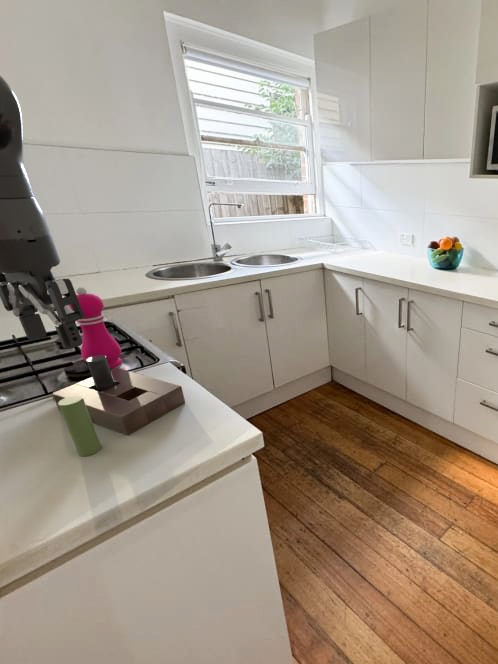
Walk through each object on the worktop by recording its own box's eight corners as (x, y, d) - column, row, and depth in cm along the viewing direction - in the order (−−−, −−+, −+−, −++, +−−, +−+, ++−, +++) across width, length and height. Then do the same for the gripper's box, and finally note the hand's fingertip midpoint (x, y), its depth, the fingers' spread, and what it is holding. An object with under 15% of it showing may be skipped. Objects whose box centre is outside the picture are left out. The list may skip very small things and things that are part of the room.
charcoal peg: (98, 404, 77) (82, 360, 73) (113, 397, 79) (99, 353, 75) (108, 407, 76) (92, 363, 72) (123, 400, 78) (109, 356, 74)
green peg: (74, 453, 63) (53, 402, 59) (93, 443, 66) (74, 393, 62) (86, 458, 62) (65, 407, 58) (105, 447, 65) (86, 397, 61)
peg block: (127, 435, 68) (121, 417, 66) (58, 410, 74) (51, 393, 73) (185, 402, 78) (181, 385, 77) (120, 383, 84) (115, 367, 83)
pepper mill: (133, 364, 93) (109, 284, 85) (106, 378, 86) (78, 293, 78) (108, 360, 94) (82, 281, 86) (79, 374, 87) (48, 290, 79)
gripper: (-55, 233, 51) (-4, 344, 57) (9, 241, 46) (56, 360, 53) (15, 226, 57) (54, 327, 64) (77, 233, 53) (112, 340, 59)
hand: (55, 342), depth 58 cm, fingers open, 8 cm apart
